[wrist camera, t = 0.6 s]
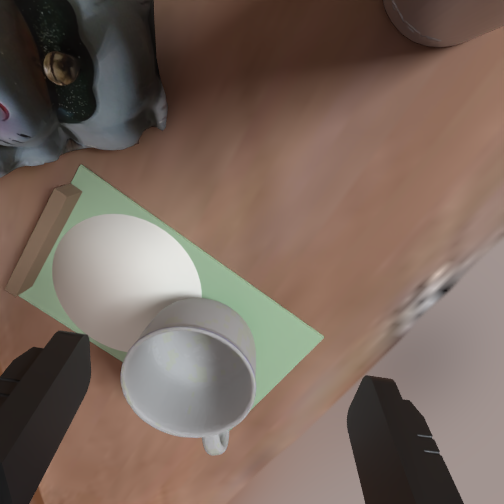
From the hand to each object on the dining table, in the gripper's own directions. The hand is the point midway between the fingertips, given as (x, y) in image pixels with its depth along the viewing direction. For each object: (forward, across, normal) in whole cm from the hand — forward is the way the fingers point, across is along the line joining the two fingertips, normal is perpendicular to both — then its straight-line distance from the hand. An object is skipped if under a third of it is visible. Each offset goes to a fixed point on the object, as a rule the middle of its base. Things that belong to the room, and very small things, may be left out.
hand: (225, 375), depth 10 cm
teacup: (+20, +1, +18) cm, 26 cm away
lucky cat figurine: (+24, +14, -5) cm, 28 cm away
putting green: (+21, +6, +15) cm, 26 cm away
